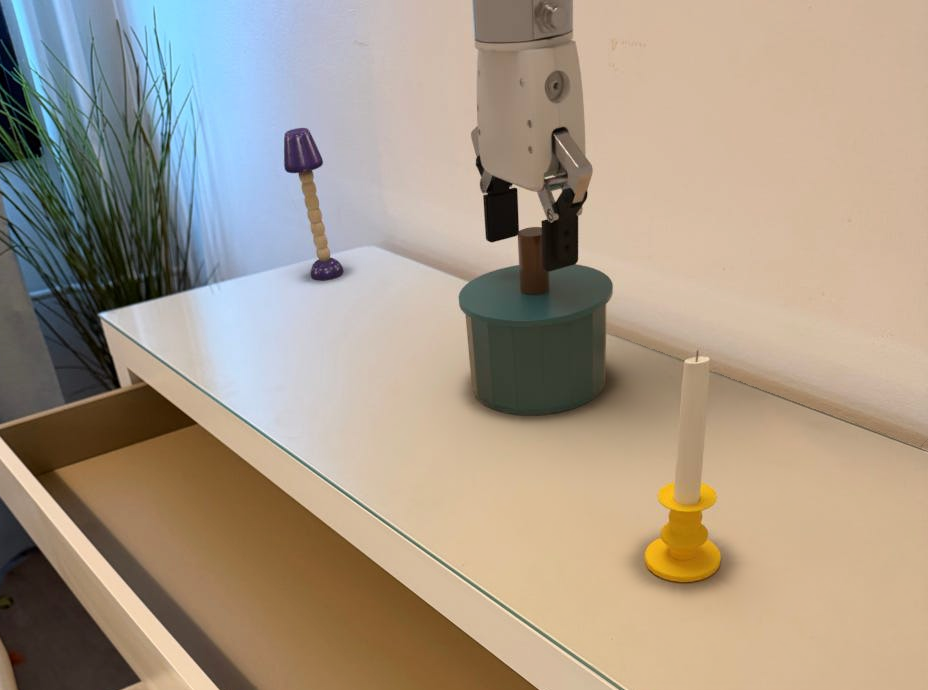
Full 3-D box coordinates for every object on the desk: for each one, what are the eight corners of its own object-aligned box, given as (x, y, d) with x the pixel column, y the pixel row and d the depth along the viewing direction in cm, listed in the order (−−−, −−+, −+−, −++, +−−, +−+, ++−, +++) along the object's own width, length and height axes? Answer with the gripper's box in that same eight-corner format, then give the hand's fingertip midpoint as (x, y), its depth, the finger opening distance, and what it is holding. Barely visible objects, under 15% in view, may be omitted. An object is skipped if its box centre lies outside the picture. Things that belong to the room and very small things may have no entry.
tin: (514, 348, 96) (509, 265, 90) (627, 367, 90) (629, 278, 85) (448, 401, 88) (439, 313, 83) (567, 425, 83) (565, 332, 77)
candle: (631, 550, 67) (638, 344, 57) (696, 532, 68) (714, 325, 58) (666, 590, 63) (680, 376, 53) (734, 570, 64) (760, 356, 54)
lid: (507, 268, 92) (503, 201, 88) (638, 283, 85) (640, 212, 81) (430, 322, 83) (422, 251, 79) (568, 343, 77) (567, 267, 73)
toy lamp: (310, 283, 117) (281, 137, 106) (303, 272, 121) (274, 130, 110) (347, 275, 118) (322, 129, 107) (338, 265, 121) (313, 122, 111)
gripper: (631, 21, 65) (623, 268, 76) (508, 4, 77) (517, 220, 88) (540, 39, 63) (545, 291, 74) (428, 19, 75) (447, 238, 86)
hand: (530, 252), depth 81 cm, fingers open, 9 cm apart
